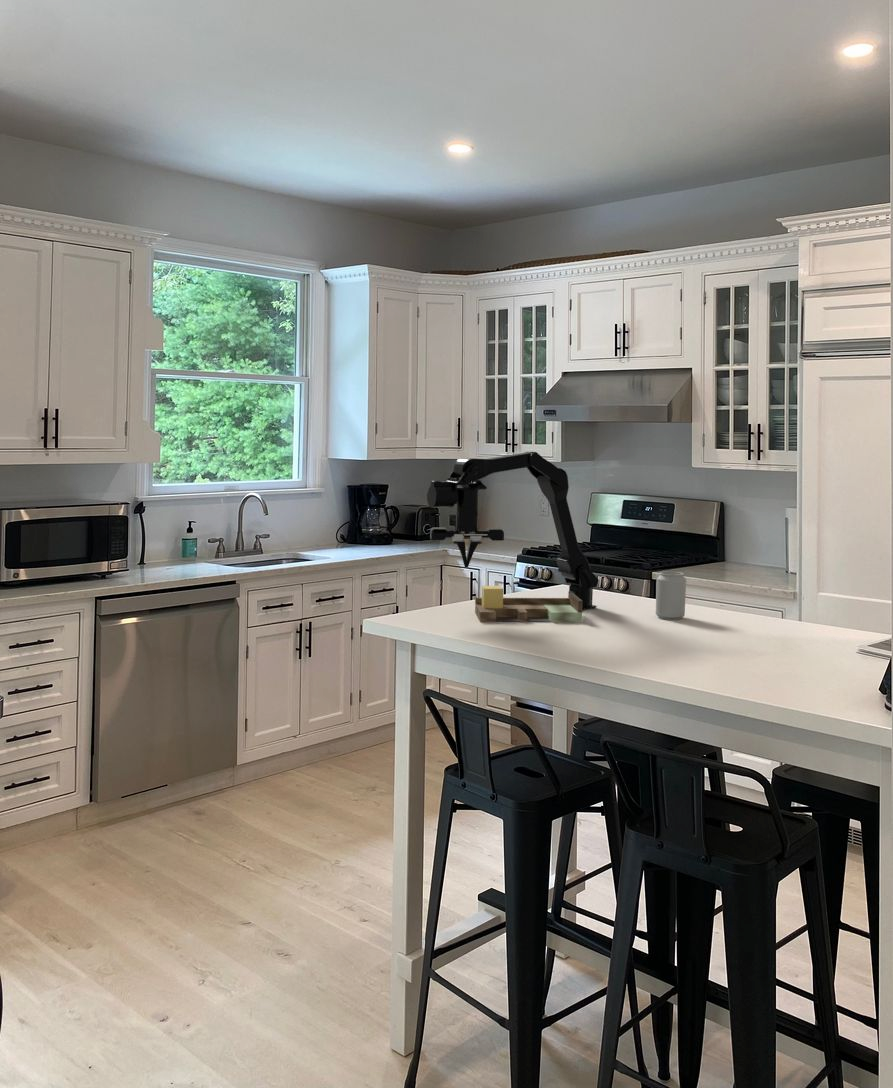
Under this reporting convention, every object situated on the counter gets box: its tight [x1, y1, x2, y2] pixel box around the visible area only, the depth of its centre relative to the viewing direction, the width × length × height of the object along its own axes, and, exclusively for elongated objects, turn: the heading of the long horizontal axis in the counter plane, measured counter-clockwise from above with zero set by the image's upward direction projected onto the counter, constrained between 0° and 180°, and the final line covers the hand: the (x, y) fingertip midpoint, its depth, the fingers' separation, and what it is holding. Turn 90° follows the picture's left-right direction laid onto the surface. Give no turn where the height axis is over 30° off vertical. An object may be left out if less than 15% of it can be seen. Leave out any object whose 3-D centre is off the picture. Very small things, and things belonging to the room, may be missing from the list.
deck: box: [474, 593, 583, 623], centre depth 254 cm, size 26×13×6 cm, turn 94°
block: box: [481, 585, 504, 608], centre depth 255 cm, size 5×5×5 cm
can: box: [655, 571, 687, 621], centre depth 256 cm, size 8×8×12 cm
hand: (466, 567), depth 253 cm, fingers closed
